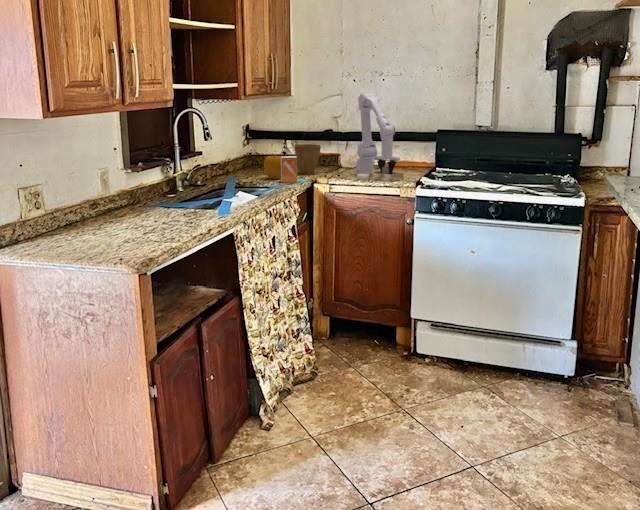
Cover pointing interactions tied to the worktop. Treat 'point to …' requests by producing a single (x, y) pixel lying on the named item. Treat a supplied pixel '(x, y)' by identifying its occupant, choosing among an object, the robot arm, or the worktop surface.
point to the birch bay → (386, 176)
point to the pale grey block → (362, 176)
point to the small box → (289, 169)
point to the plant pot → (307, 157)
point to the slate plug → (385, 169)
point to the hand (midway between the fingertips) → (386, 174)
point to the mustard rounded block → (273, 166)
